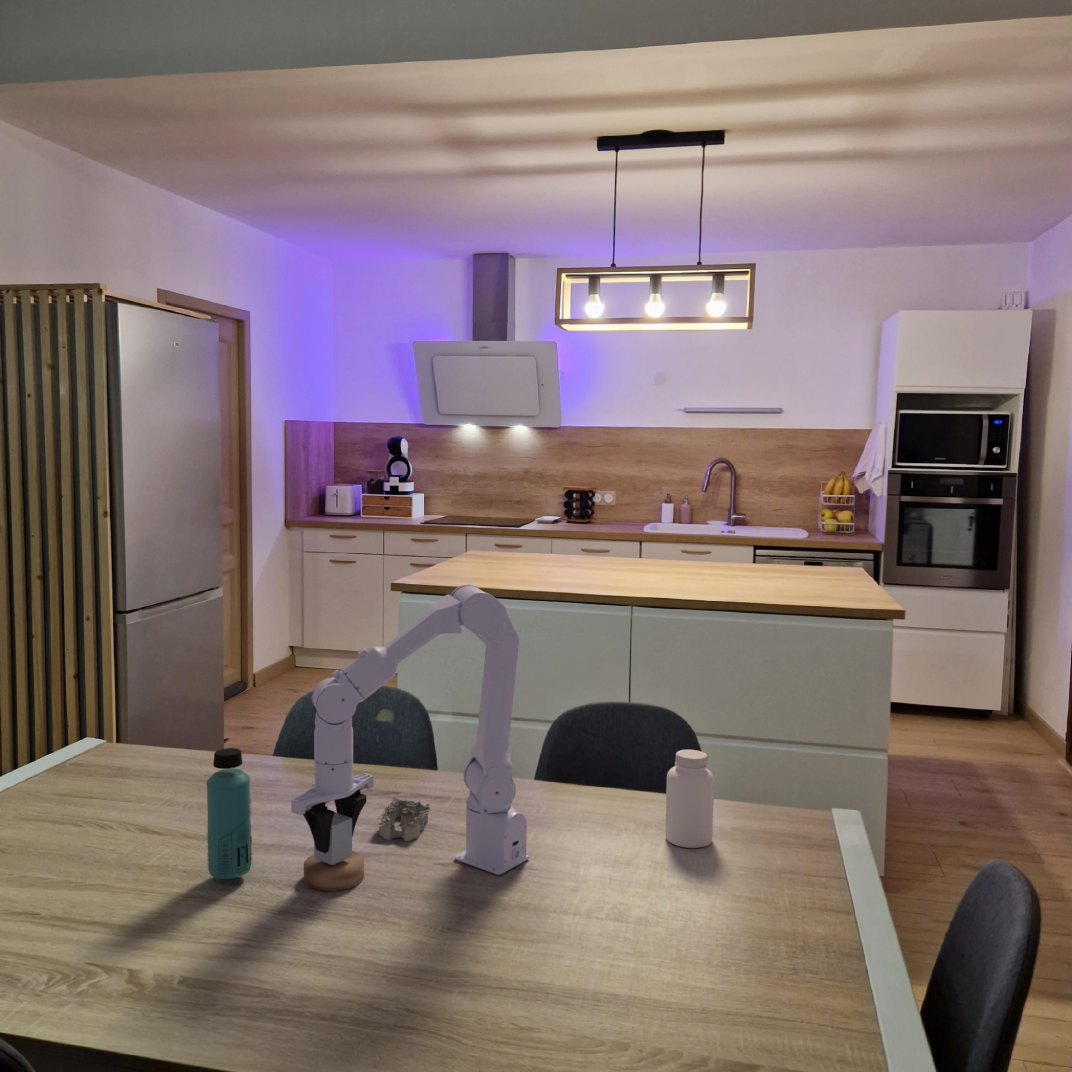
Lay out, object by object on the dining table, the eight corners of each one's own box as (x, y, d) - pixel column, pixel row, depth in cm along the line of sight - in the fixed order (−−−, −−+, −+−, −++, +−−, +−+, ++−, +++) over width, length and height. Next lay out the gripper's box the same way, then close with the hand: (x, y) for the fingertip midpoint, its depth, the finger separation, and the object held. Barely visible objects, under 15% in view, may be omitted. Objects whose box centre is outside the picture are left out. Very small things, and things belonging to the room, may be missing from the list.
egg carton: (415, 844, 155) (416, 820, 155) (373, 840, 157) (373, 816, 156) (434, 819, 166) (434, 797, 165) (393, 815, 167) (393, 793, 167)
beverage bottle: (238, 891, 137) (237, 759, 135) (198, 886, 138) (196, 755, 137) (260, 872, 143) (259, 745, 142) (221, 867, 145) (219, 742, 143)
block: (352, 856, 142) (351, 818, 142) (332, 865, 139) (331, 826, 138) (334, 849, 144) (334, 811, 144) (314, 858, 141) (313, 819, 141)
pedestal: (376, 875, 143) (376, 860, 143) (331, 897, 136) (331, 881, 135) (336, 859, 148) (336, 844, 148) (291, 880, 141) (291, 864, 141)
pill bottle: (709, 831, 162) (712, 747, 161) (714, 851, 154) (717, 763, 153) (664, 828, 163) (666, 745, 162) (665, 848, 155) (668, 760, 154)
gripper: (351, 741, 148) (351, 824, 150) (277, 765, 137) (278, 854, 138) (383, 751, 144) (382, 835, 145) (309, 776, 133) (309, 867, 134)
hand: (333, 845), depth 141 cm, fingers closed on block, 4 cm apart
